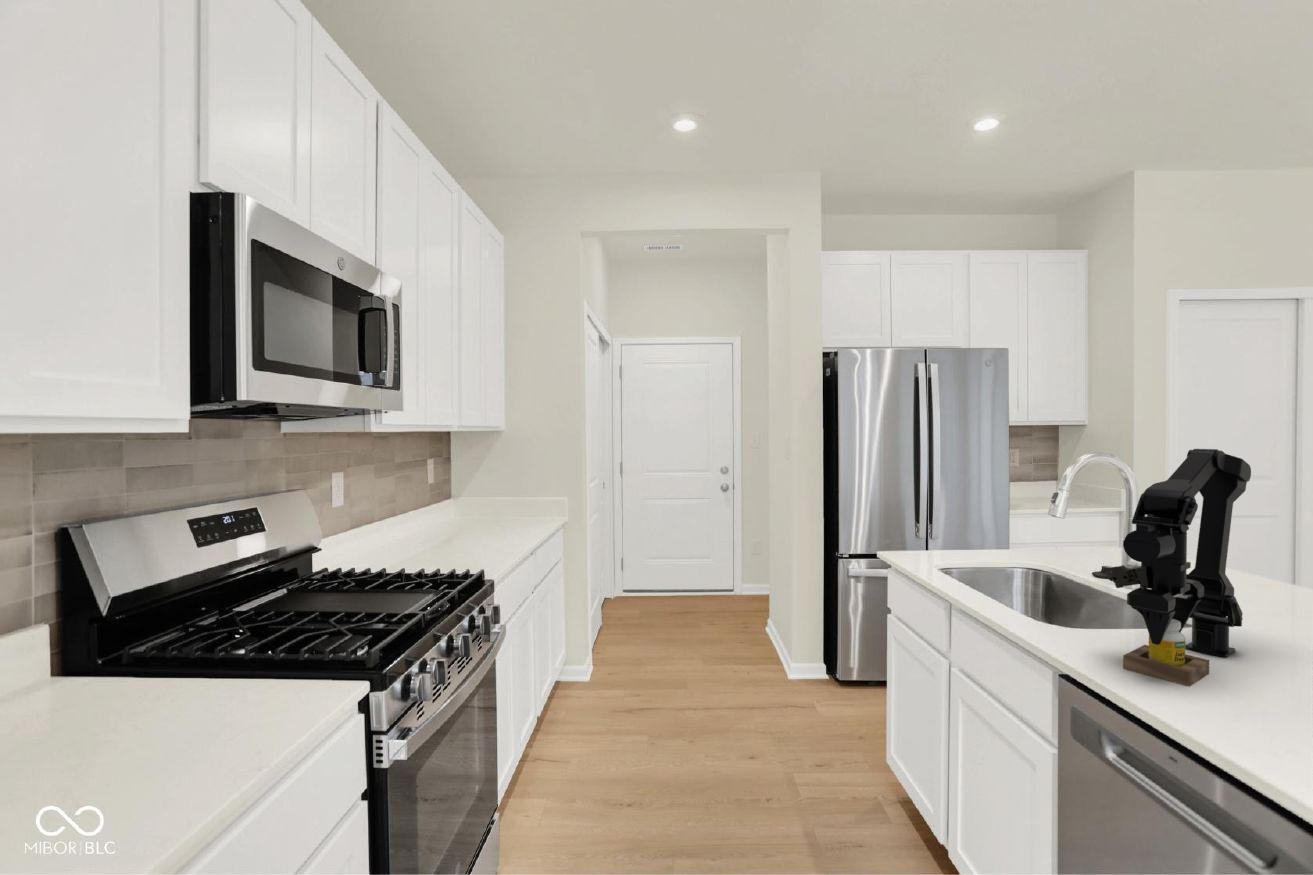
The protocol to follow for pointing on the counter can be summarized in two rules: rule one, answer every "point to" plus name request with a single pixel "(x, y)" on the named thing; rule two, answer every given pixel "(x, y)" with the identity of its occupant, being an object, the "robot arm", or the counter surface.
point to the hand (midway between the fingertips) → (1165, 638)
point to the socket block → (1166, 667)
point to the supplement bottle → (1169, 646)
